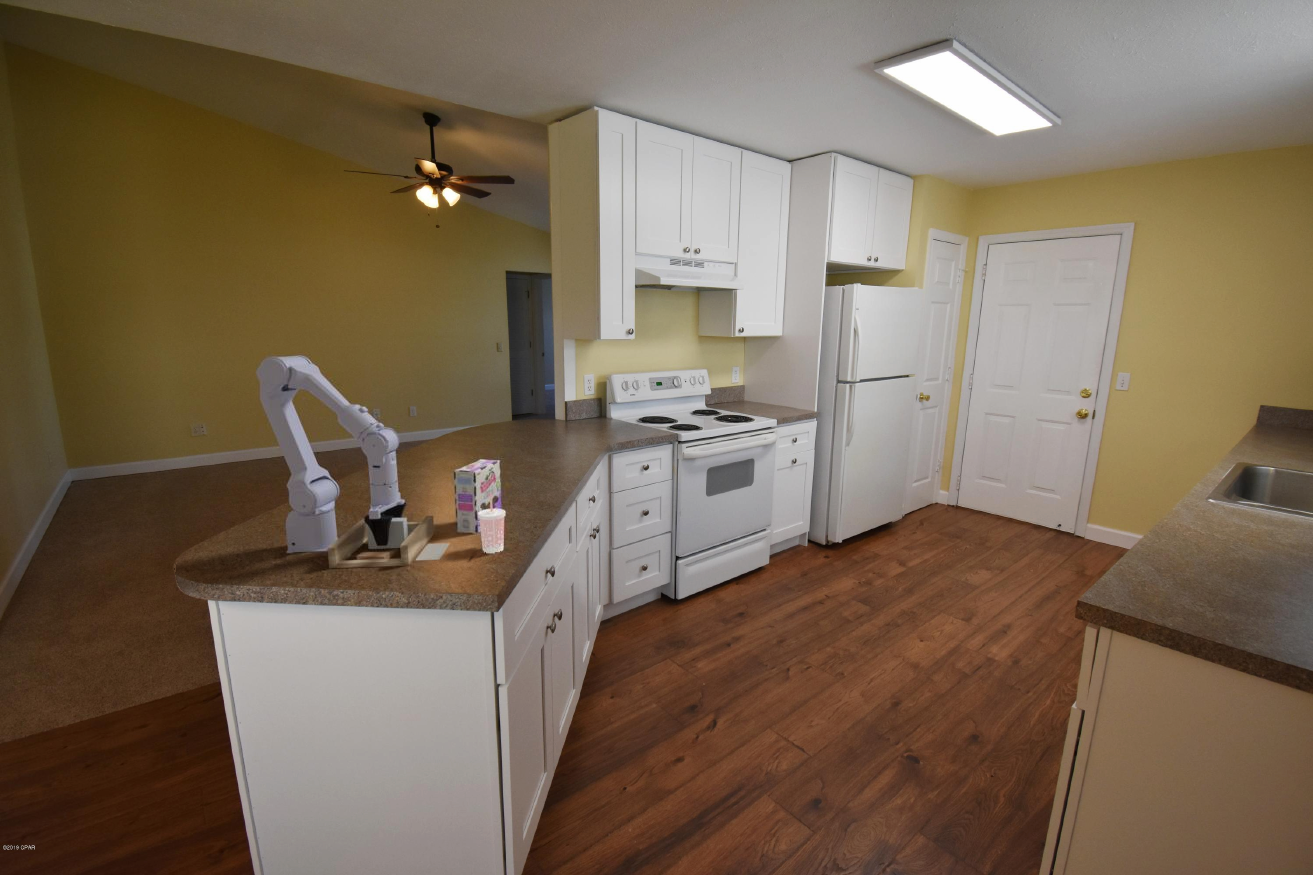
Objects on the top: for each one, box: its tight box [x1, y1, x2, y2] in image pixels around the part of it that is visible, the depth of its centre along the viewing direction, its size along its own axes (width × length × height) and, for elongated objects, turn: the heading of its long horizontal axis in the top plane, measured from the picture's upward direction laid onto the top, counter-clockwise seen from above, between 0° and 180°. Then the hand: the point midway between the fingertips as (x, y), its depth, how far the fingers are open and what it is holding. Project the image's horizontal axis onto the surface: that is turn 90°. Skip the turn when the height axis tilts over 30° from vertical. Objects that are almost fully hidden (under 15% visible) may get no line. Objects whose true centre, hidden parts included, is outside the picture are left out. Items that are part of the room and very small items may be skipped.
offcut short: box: [356, 551, 391, 560], centre depth 124 cm, size 6×2×1 cm, turn 89°
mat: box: [414, 542, 451, 562], centre depth 128 cm, size 5×10×1 cm, turn 7°
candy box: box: [453, 458, 503, 535], centre depth 146 cm, size 14×6×16 cm, turn 168°
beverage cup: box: [478, 491, 506, 554], centre depth 130 cm, size 6×6×14 cm
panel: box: [367, 517, 408, 550], centre depth 131 cm, size 8×2×7 cm, turn 97°
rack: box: [327, 515, 435, 569], centre depth 129 cm, size 16×20×5 cm
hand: (388, 539), depth 131 cm, fingers open, 7 cm apart
